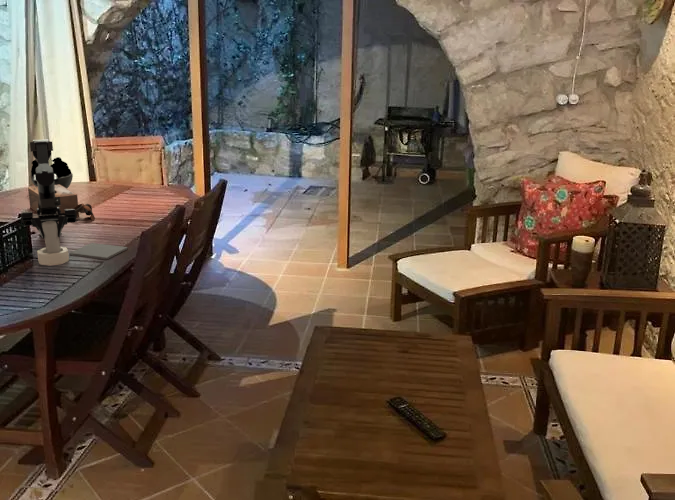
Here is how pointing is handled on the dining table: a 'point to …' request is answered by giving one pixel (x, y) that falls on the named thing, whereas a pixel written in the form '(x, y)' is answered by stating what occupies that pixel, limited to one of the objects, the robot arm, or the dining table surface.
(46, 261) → the holder ring
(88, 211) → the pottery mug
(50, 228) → the beverage can
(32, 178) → the coal bowl
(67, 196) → the tissue box cover
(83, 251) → the rubber mat
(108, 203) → the dining table surface
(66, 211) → the robot arm
